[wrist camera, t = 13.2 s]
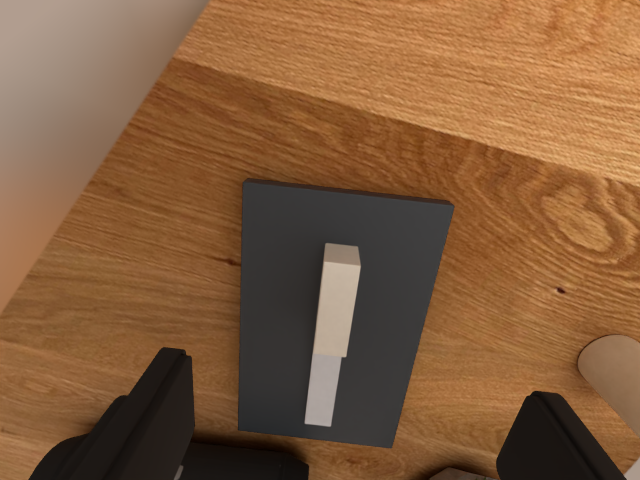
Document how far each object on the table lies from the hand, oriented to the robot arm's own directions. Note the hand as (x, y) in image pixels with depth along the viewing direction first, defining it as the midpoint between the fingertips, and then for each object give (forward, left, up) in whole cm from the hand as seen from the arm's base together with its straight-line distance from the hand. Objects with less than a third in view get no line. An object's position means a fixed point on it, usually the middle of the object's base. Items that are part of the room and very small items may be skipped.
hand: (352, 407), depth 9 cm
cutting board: (0, -11, -19) cm, 22 cm away
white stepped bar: (0, -11, -18) cm, 21 cm away
